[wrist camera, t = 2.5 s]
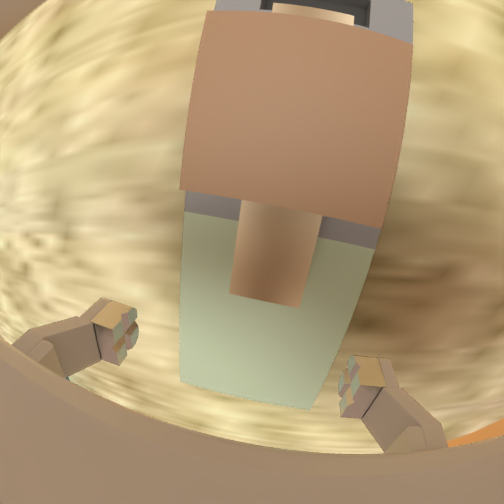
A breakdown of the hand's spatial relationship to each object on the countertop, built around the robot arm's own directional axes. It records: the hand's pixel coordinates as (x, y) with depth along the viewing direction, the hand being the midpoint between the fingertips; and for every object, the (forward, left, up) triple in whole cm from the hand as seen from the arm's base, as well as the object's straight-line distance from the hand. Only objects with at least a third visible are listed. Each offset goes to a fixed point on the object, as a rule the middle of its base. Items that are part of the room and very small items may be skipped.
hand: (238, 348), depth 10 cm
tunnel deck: (0, -2, -12) cm, 12 cm away
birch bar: (0, -7, -10) cm, 12 cm away
